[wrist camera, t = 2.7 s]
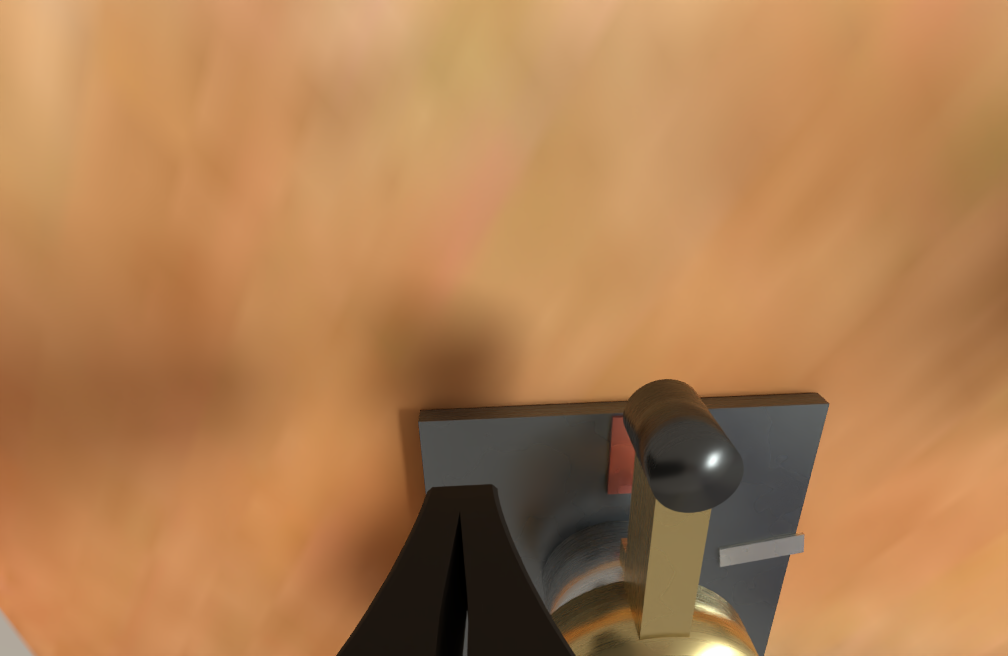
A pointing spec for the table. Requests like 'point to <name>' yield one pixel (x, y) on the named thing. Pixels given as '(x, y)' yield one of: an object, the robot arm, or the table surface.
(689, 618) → the brass lever handle
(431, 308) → the table surface
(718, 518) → the dark grey plate
